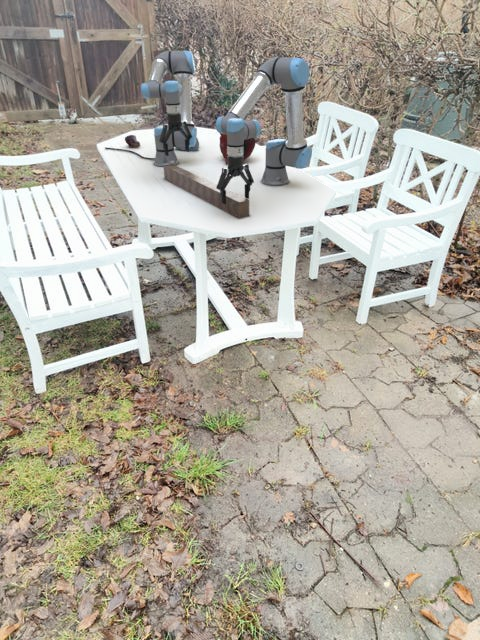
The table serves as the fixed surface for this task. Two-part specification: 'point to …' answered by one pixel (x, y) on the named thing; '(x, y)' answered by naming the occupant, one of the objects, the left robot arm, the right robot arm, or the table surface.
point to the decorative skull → (248, 146)
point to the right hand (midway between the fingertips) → (235, 200)
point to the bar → (207, 190)
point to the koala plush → (190, 147)
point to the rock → (132, 141)
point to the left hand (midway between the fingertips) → (177, 153)
